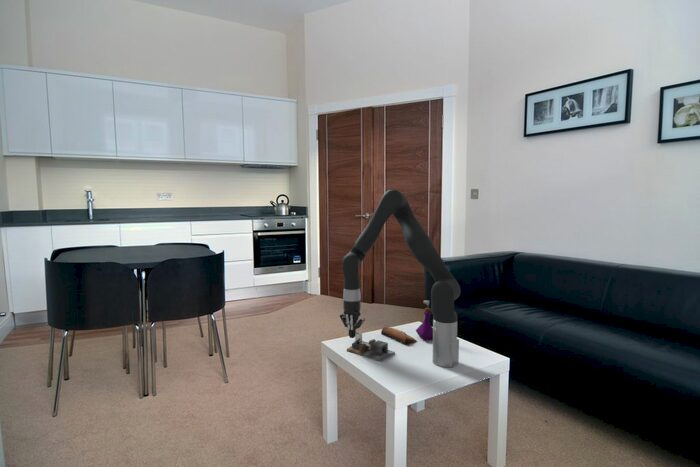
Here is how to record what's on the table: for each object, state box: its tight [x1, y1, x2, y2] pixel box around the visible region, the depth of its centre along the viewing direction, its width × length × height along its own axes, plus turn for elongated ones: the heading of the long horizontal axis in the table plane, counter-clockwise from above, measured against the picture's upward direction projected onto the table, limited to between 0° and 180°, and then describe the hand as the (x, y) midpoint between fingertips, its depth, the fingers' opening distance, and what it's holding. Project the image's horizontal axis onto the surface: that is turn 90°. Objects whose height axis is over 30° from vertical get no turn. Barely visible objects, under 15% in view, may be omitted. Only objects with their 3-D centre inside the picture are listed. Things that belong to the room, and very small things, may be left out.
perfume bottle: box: [415, 300, 433, 341], centre depth 182 cm, size 8×8×18 cm
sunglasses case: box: [380, 326, 418, 346], centre depth 184 cm, size 18×7×7 cm, turn 33°
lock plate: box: [346, 338, 396, 362], centre depth 166 cm, size 18×10×5 cm, turn 51°
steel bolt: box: [353, 331, 371, 350], centre depth 169 cm, size 8×3×6 cm, turn 51°
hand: (352, 337), depth 172 cm, fingers closed
